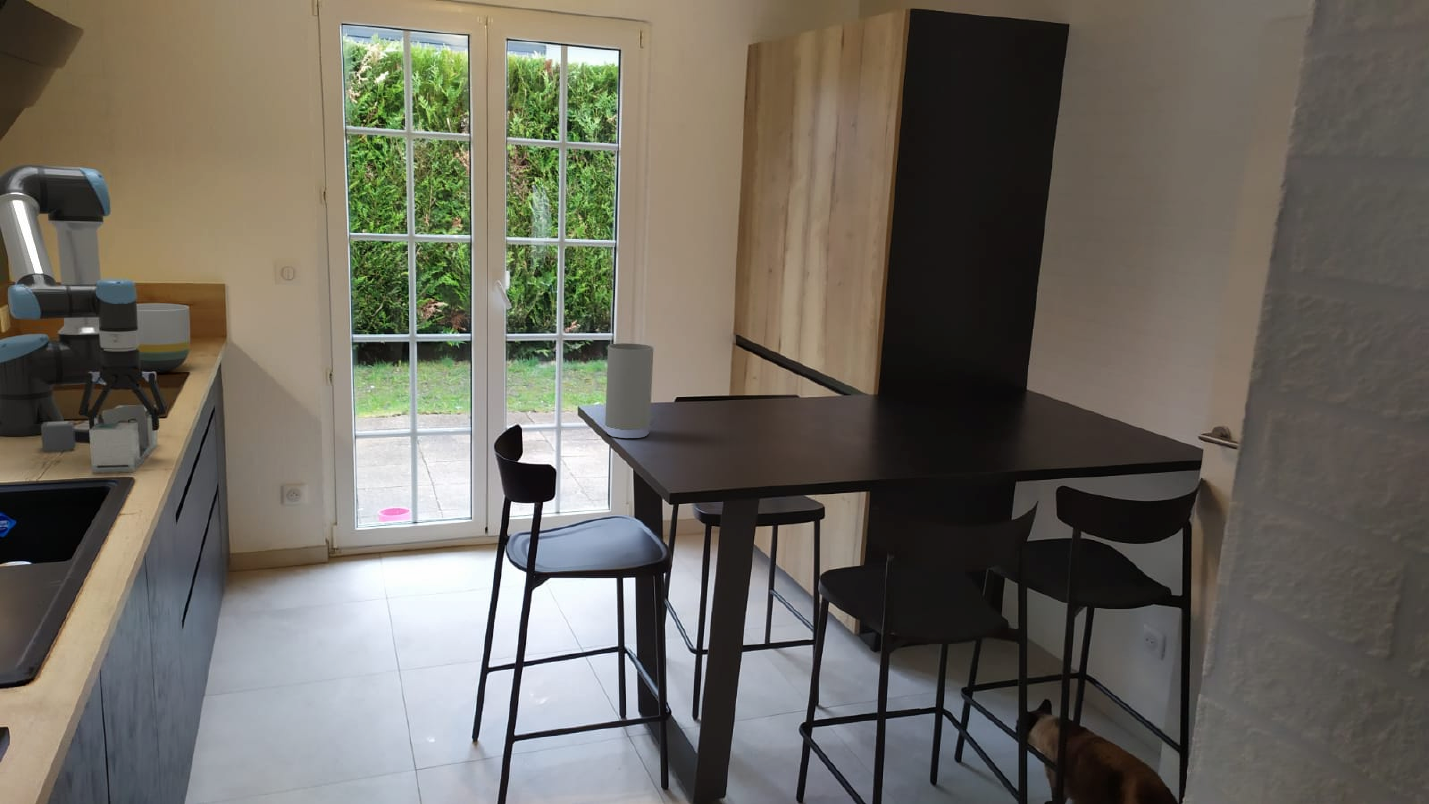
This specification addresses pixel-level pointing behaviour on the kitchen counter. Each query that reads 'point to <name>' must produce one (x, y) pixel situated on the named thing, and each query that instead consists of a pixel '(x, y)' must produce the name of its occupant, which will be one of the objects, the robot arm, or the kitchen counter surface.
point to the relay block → (58, 436)
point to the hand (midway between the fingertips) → (125, 444)
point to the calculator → (82, 432)
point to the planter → (163, 336)
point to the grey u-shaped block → (117, 446)
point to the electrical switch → (128, 419)
